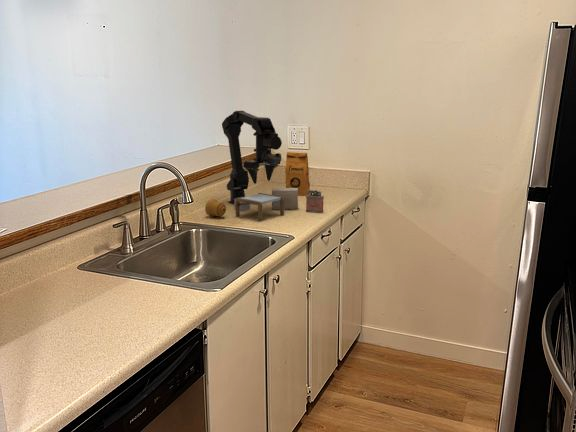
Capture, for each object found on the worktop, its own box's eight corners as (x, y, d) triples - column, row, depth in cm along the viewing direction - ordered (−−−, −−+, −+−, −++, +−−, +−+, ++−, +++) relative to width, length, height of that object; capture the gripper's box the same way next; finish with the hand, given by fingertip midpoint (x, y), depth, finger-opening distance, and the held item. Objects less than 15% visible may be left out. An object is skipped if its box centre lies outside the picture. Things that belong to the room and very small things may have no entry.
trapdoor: (261, 204, 236) (261, 201, 235) (240, 200, 243) (240, 197, 243) (280, 199, 244) (280, 197, 244) (259, 195, 252) (259, 193, 252)
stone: (234, 209, 257) (234, 198, 256) (242, 207, 261) (242, 197, 260) (242, 211, 254) (242, 200, 253) (250, 209, 258) (250, 198, 257)
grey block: (298, 205, 261) (297, 187, 256) (298, 209, 258) (297, 191, 253) (271, 205, 261) (271, 187, 256) (271, 209, 258) (270, 191, 253)
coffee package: (306, 198, 282) (306, 154, 277) (282, 196, 286) (282, 152, 281) (312, 194, 291) (312, 151, 286) (289, 193, 295) (289, 150, 290)
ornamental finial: (204, 217, 242) (203, 200, 240) (216, 214, 248) (216, 197, 246) (218, 220, 237) (217, 202, 236) (230, 217, 243) (230, 200, 241)
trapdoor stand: (260, 221, 236) (260, 202, 234) (235, 216, 244) (235, 198, 243) (284, 215, 247) (284, 197, 245) (259, 210, 256) (259, 192, 254)
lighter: (324, 212, 253) (324, 190, 251) (322, 213, 250) (322, 191, 248) (307, 210, 256) (307, 188, 253) (304, 212, 253) (305, 190, 250)
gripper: (262, 150, 237) (261, 187, 241) (290, 146, 252) (289, 181, 256) (242, 148, 244) (242, 184, 248) (270, 144, 258) (270, 178, 262)
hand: (261, 182), depth 253 cm, fingers open, 9 cm apart
